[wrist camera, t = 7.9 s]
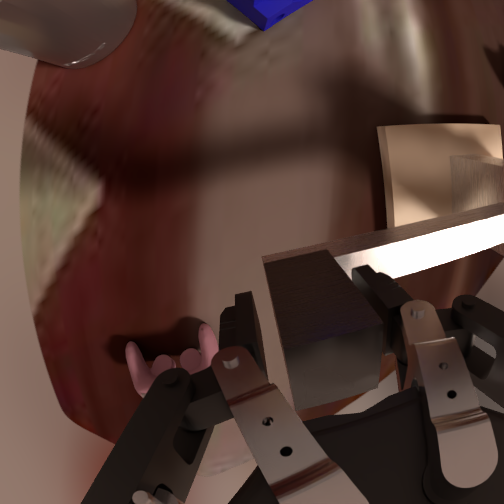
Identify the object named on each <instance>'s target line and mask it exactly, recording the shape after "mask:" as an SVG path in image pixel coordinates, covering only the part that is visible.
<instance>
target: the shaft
mask: <svg viewBox="0 0 504 504" xmlns="http://www.w3.org/2000/svg"><path fill="white" fill-rule="evenodd" d="M502 242H504V203H502V202H501V203H496V204H492V205H488V206H484V207H479V208H475V209H471V210H466V211H462V212H458V213H453V214H449V215H445V216H440V217H436V218H432V219H427V220H423V221H419V222H414V223H410V224H405V225H401V226H397V227H392V228H388V229H383V230H379V231H374V232H370V233H366V234H361V235H357V236H352V237H348V238H343V239H339V240H334V241H330V242H325V243H321V244H316V245H312V246H307V247H303V248H298V249H293V250H289V251H284V252H280V253H275V254H271V255H266V256H262V261H263V266H264V270H265V275H266V280H267V284H268V289H269V293H270V298H271V302H272V307H273V311H274V316H275V320H276V325H277V329H278V334H279V338H280V343H281V347H282V352H283V356H284V361H285V365H286V370H287V374H288V379H289V383H290V388H291V392H292V397H293V401H294V406H295V410H296V411H297V410H301V409H306V408H310V407H314V406H318V405H322V404H326V403H330V402H333V401H337V400H340V399H344V398H347V397H351V396H354V395H357V394H360V393H363V392H367V391H370V390H373V389H376V388H378V382H379V374H380V364H381V354H382V341H383V326H384V323H383V321H382V320H381V318H380V317H379V316H378V314H377V313H376V312H375V310H374V309H373V308H372V306H371V305H370V304H369V302H368V301H367V300H366V298H365V297H364V296H363V294H362V293H361V292H360V290H359V289H358V288H357V287H356V285H355V284H354V283H353V281H352V275H351V271H352V268H354V267H358V266H362V265H366V264H368V265H370V267H371V268H372V269H373V270H374V271H375V272H376V273H378V272H382V273H385V274H387V275H389V276H390V277H391V278H392V279H393V278H396V277H400V276H403V275H406V274H410V273H413V272H416V271H420V270H423V269H426V268H429V267H432V266H436V265H439V264H442V263H445V262H448V261H451V260H454V259H457V258H460V257H463V256H466V255H469V254H472V253H475V252H478V251H480V250H483V249H486V248H489V247H492V246H494V245H497V244H500V243H502Z"/></svg>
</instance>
